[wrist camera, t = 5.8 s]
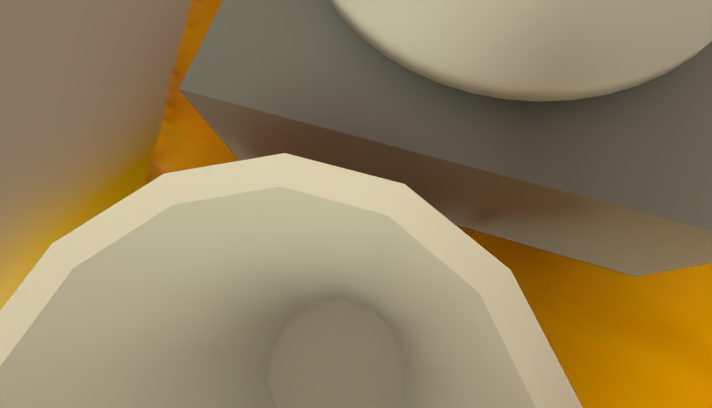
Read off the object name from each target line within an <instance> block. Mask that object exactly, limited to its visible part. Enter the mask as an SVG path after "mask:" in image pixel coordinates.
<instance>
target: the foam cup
mask: <svg viewBox="0 0 712 408" xmlns="http://www.w3.org/2000/svg"><path fill="white" fill-rule="evenodd" d="M0 408H583V407H582V405H581V403H580V402H579V400H578V398H577V396H576V394H575V392H574V390H573V388H572V386H571V384H570V382H569V381H568V379H567V377H566V375H565V373H564V371H563V369H562V367H561V365H560V363H559V361H558V359H557V358H556V356H555V354H554V352H553V350H552V348H551V346H550V344H549V342H548V340H547V338H546V337H545V335H544V333H543V331H542V329H541V327H540V325H539V323H538V321H537V319H536V317H535V315H534V314H533V312H532V310H531V308H530V306H529V304H528V302H527V300H526V298H525V296H524V294H523V292H522V291H521V289H520V287H519V285H518V283H517V281H516V279H515V277H514V275H513V273H512V271H511V270H510V269H509V268H508V267H506V266H505V265H504V264H503V263H502V262H500V261H499V260H498V259H497V258H495V257H494V256H493V255H492V254H490V253H489V252H488V251H487V250H486V249H484V248H483V247H482V246H481V245H479V244H478V243H477V242H476V241H474V240H473V239H472V238H471V237H469V236H468V235H467V234H466V233H465V232H463V231H462V230H461V229H460V228H458V227H457V226H456V225H455V224H453V223H452V222H451V221H450V220H448V219H447V218H446V217H445V216H444V215H442V214H441V213H440V212H439V211H437V210H436V209H435V208H434V207H432V206H431V205H430V204H429V203H427V202H426V201H425V200H424V199H423V198H421V197H420V196H419V195H418V194H416V193H415V192H414V191H413V190H411V189H410V188H409V187H408V186H406V185H405V184H403V183H399V182H395V181H391V180H387V179H383V178H379V177H376V176H372V175H368V174H364V173H360V172H356V171H352V170H349V169H345V168H341V167H337V166H333V165H329V164H325V163H322V162H318V161H314V160H310V159H306V158H302V157H298V156H295V155H291V154H287V153H282V154H277V155H271V156H265V157H259V158H253V159H247V160H241V161H235V162H229V163H224V164H218V165H212V166H206V167H200V168H194V169H188V170H182V171H177V172H171V173H165V174H163V175H161V176H159V177H158V178H156V179H155V180H153V181H152V182H150V183H148V184H147V185H145V186H144V187H142V188H140V189H139V190H137V191H136V192H134V193H132V194H131V195H129V196H128V197H126V198H124V199H123V200H121V201H120V202H118V203H116V204H115V205H113V206H112V207H110V208H108V209H107V210H105V211H104V212H102V213H100V214H99V215H97V216H96V217H94V218H92V219H91V220H89V221H88V222H86V223H84V224H83V225H82V226H80V227H78V228H76V229H75V230H73V231H72V232H70V233H69V234H67V235H65V236H64V237H62V238H60V239H59V240H57V241H56V242H54V243H52V244H51V246H50V247H49V248H48V249H47V251H46V252H45V254H44V255H43V256H42V257H41V259H40V260H39V261H38V263H37V264H36V265H35V266H34V268H33V269H32V270H31V272H30V273H29V274H28V275H27V277H26V278H25V279H24V281H23V282H22V283H21V285H20V286H19V287H18V289H17V290H16V291H15V292H14V294H13V295H12V296H11V298H10V299H9V300H8V302H7V303H6V304H5V305H4V307H3V308H2V309H1V311H0Z"/></svg>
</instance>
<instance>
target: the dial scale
mask: <svg viewBox="0 0 712 408" xmlns="http://www.w3.org/2000/svg"><path fill="white" fill-rule="evenodd" d="M179 90H180V91H181V92H182V93H183V95H184V96H185V97H186V98H187V99H188V101H189V102H190V103H191V104H192V105H193V106H194V108H195V109H196V110H197V111H198V112H199V114H200V115H201V116H202V117H203V118H204V119H205V121H206V122H207V123H208V124H209V125H210V127H211V128H212V129H213V130H214V131H215V132H216V134H217V135H218V136H219V137H220V138H221V140H222V141H223V142H224V143H225V144H226V145H227V147H228V148H229V149H230V150H231V151H232V153H233V154H234V155H235V156H236V157H237V158H238V160H239V161H241V160H247V159H253V158H259V157H265V156H271V155H277V154H282V153H287V154H291V155H295V156H298V157H302V158H306V159H310V160H314V161H318V162H322V163H325V164H329V165H333V166H337V167H341V168H345V169H349V170H352V171H356V172H360V173H364V174H368V175H372V176H376V177H379V178H383V179H387V180H391V181H395V182H399V183H403V184H405V185H406V186H408V187H409V188H410V189H411V190H413V191H414V192H415V193H416V194H418V195H419V196H420V197H421V198H423V199H424V200H425V201H426V202H427V203H429V204H430V205H431V206H432V207H434V208H435V209H436V210H437V211H439V212H440V213H441V214H442V215H444V216H445V217H446V218H447V219H448V220H450V221H451V222H452V223H453V224H455V225H457V226H461V227H464V228H468V229H471V230H475V231H478V232H482V233H485V234H489V235H492V236H496V237H499V238H503V239H506V240H510V241H513V242H517V243H520V244H523V245H527V246H530V247H534V248H537V249H541V250H544V251H548V252H551V253H555V254H558V255H562V256H565V257H569V258H572V259H576V260H579V261H583V262H586V263H590V264H593V265H597V266H600V267H603V268H607V269H610V270H614V271H617V272H621V273H624V274H628V275H631V276H635V277H636V276H642V275H647V274H653V273H658V272H664V271H670V270H675V269H681V268H687V267H692V266H698V265H703V264H709V263H712V0H223V1H222V3H221V5H220V7H219V9H218V11H217V13H216V15H215V17H214V19H213V21H212V23H211V25H210V27H209V29H208V31H207V33H206V35H205V37H204V39H203V41H202V43H201V45H200V47H199V49H198V51H197V53H196V55H195V57H194V59H193V61H192V63H191V65H190V67H189V69H188V71H187V73H186V76H185V78H184V80H183V82H182V84H181V86H180V88H179Z"/></svg>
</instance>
